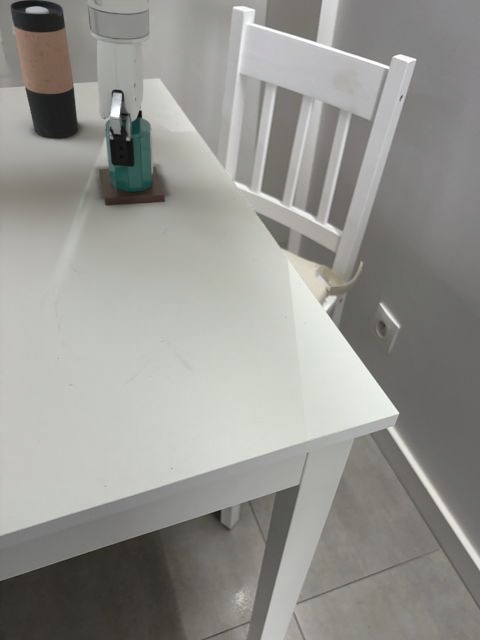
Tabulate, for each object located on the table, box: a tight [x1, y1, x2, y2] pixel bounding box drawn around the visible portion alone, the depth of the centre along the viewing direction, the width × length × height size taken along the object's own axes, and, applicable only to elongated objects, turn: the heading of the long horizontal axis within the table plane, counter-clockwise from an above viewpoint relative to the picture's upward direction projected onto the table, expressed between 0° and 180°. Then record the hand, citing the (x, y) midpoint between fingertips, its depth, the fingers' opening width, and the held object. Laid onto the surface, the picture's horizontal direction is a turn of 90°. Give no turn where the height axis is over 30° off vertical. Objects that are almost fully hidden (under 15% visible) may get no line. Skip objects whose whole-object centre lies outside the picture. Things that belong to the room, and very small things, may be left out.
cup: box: [104, 117, 154, 192], centre depth 83 cm, size 6×7×9 cm
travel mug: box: [9, 0, 79, 140], centre depth 90 cm, size 8×8×20 cm
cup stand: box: [98, 166, 166, 206], centre depth 84 cm, size 9×9×8 cm
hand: (128, 149), depth 82 cm, fingers open, 9 cm apart
